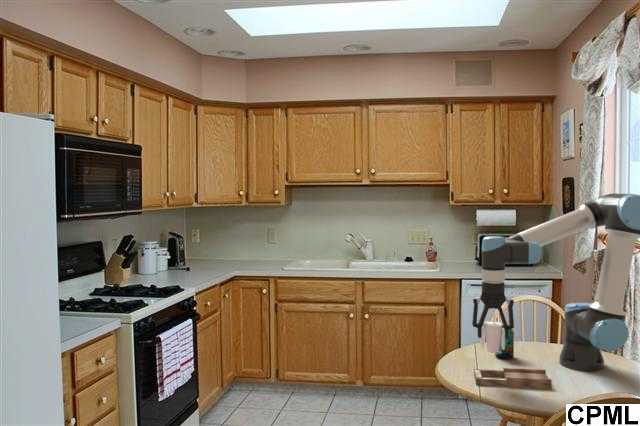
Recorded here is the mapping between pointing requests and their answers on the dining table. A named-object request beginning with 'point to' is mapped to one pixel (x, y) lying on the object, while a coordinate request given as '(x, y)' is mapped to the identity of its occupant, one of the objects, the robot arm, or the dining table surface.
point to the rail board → (514, 377)
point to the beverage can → (506, 346)
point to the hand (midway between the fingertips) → (492, 347)
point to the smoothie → (492, 334)
